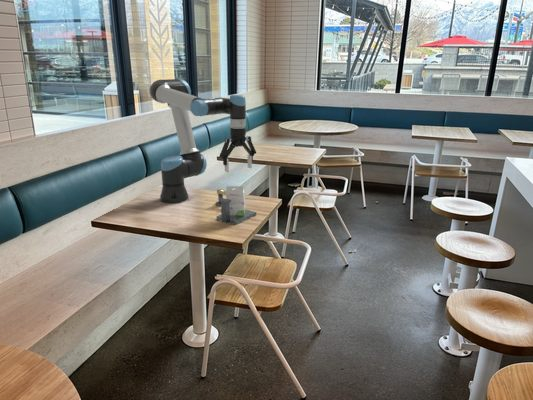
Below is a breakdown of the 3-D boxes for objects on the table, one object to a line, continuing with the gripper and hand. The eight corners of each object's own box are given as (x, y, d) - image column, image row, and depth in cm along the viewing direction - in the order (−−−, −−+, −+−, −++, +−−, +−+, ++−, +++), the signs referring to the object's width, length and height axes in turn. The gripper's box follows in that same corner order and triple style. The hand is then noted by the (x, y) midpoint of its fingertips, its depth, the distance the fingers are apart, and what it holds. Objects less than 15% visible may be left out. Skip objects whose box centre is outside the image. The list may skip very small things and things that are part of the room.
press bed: (214, 220, 193) (213, 198, 189) (237, 210, 207) (237, 189, 203) (233, 225, 186) (232, 203, 183) (256, 214, 200) (256, 193, 197)
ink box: (245, 212, 199) (245, 183, 194) (244, 216, 194) (243, 186, 189) (228, 212, 200) (227, 183, 195) (226, 215, 195) (225, 186, 190)
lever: (215, 194, 213) (215, 189, 212) (220, 193, 216) (220, 188, 215) (241, 200, 204) (241, 195, 203) (245, 198, 207) (245, 193, 206)
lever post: (212, 204, 215) (212, 194, 213) (220, 201, 219) (220, 192, 218) (221, 207, 211) (221, 196, 210) (228, 204, 216) (228, 194, 214)
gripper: (219, 130, 187) (220, 174, 194) (263, 126, 201) (262, 167, 208) (211, 128, 193) (213, 171, 200) (254, 124, 207) (254, 164, 214)
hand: (238, 169), depth 204 cm, fingers open, 13 cm apart
